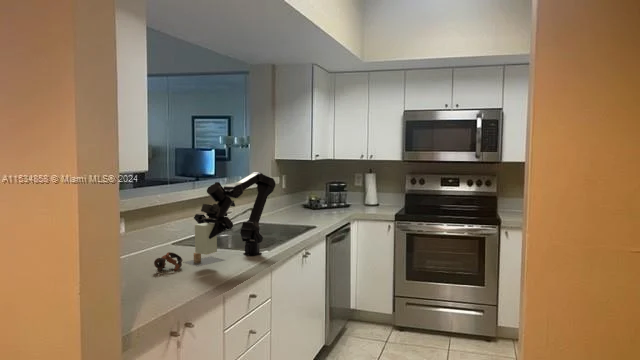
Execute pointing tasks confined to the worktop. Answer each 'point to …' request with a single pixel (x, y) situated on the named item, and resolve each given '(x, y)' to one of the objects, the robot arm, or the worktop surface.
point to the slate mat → (204, 261)
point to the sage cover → (205, 239)
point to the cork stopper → (197, 257)
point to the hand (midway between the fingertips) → (203, 237)
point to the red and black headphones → (169, 259)
